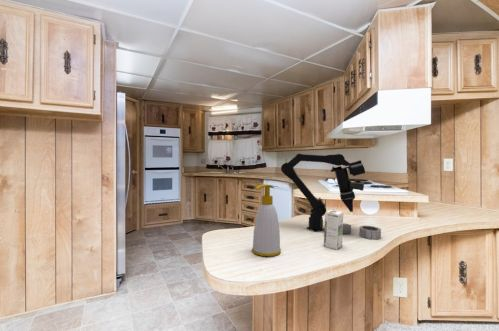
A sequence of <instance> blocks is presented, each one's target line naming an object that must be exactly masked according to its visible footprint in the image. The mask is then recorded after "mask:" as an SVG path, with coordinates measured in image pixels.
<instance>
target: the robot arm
mask: <svg viewBox="0 0 499 331" xmlns="http://www.w3.org/2000/svg"><path fill="white" fill-rule="evenodd" d="M300 162H309V163H310V162H314V163H325V164H330V165H334V166H332V167H331V169H330V172H331V173H333V172H334V174H335V178H336V181H337V186H338V189H339V193H340V194H339V197H340V200H341V202H342V203H343V204H344V206H345V207H346V208H347V209H348V210H349V213H352V212H354V208H353V207H354V206H353V201H354V200H355V199H356V194H355V192H354V190H357V191H358V190H359V191H364V186H365V183H363V182H361V180H359V179H355V181H351V179H350V176H352V177H356V176H360V175H365V174H366V169H365V166H364V165H363V163H362V160H360V159H359V160H356V161H353V162H349V161H348V160H346V159H345V156H344V155H343V154H342V153H335V154H333V153H332V154H309V153H300V152H299V153H297V154H296V155H295V156H294V157H292V159H291V160H289V161H288V162H284V163H282V165H281V167H280V171H281V173H283V175H284V176H286V177H287V178H289V179H290V180H291V181H292V183H293V184H294V185H295V186H296V187H297V188H298V189H299V191H300V192H301V194H302V195H303V196H304V197H305V198H306V200H307V201H308V202H309V204H310V206H311V208H312V209H311V210H309V216H308V226H307V227H306V229H307V230H310V231H312V232H320V231H324V229H325V228H324V220H323V216H325V212H327V207H326V206H327V205H326V203H325V202H324V201H323V200H322V198H321V197H316V196H315V194H313V193H312V191H311V190H310V189H309V188H308V186H307V185H306V184H305V182H304V181H303V180H302V179H301V178H300V176H299V175H298V173H297V171H296V169H295V168H294V167H295V166H297V165H299V163H300ZM342 166H344V167H342ZM349 175H350V176H349Z"/></svg>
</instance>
